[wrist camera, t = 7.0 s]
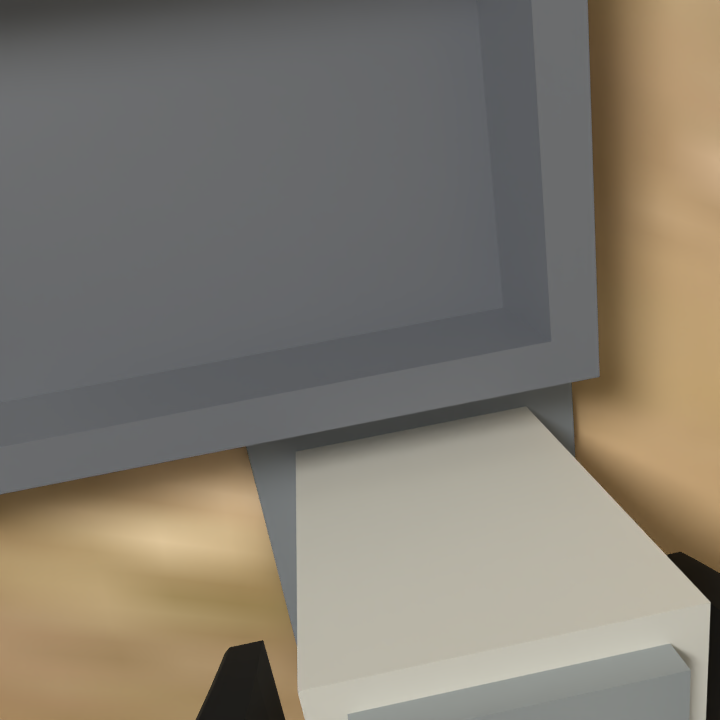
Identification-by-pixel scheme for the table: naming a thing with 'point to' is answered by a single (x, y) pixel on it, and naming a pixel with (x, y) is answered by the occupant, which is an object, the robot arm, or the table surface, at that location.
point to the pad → (279, 457)
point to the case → (283, 219)
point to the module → (484, 585)
